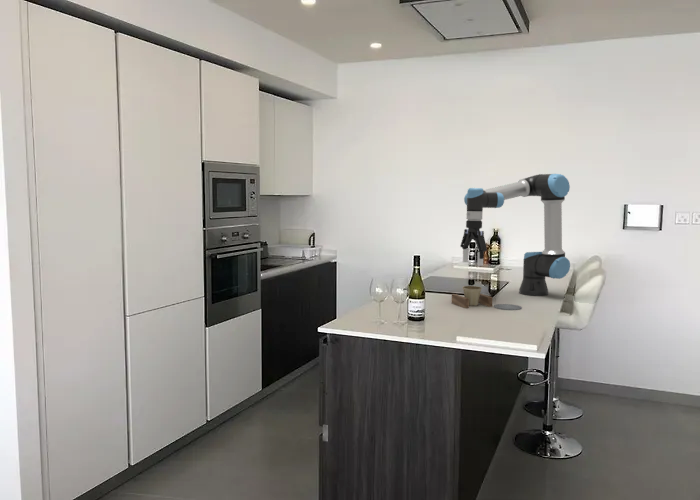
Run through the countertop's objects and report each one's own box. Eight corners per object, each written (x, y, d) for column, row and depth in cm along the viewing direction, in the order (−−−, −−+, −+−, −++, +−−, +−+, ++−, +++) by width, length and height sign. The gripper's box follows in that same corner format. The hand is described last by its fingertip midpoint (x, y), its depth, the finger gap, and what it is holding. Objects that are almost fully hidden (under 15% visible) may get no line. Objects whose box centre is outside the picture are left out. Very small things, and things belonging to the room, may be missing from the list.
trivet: (511, 304, 293) (511, 303, 293) (527, 309, 281) (527, 308, 280) (488, 305, 288) (488, 304, 288) (503, 310, 276) (503, 309, 276)
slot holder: (477, 301, 298) (478, 292, 298) (492, 306, 286) (492, 297, 286) (451, 303, 293) (451, 294, 293) (465, 308, 281) (465, 298, 281)
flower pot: (481, 307, 284) (482, 289, 283) (461, 306, 286) (462, 288, 285) (481, 303, 293) (481, 286, 293) (462, 302, 295) (462, 285, 294)
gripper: (454, 218, 296) (453, 260, 298) (481, 221, 273) (479, 267, 275) (467, 218, 299) (466, 260, 301) (495, 221, 275) (493, 266, 277)
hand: (472, 263), depth 288 cm, fingers open, 13 cm apart
